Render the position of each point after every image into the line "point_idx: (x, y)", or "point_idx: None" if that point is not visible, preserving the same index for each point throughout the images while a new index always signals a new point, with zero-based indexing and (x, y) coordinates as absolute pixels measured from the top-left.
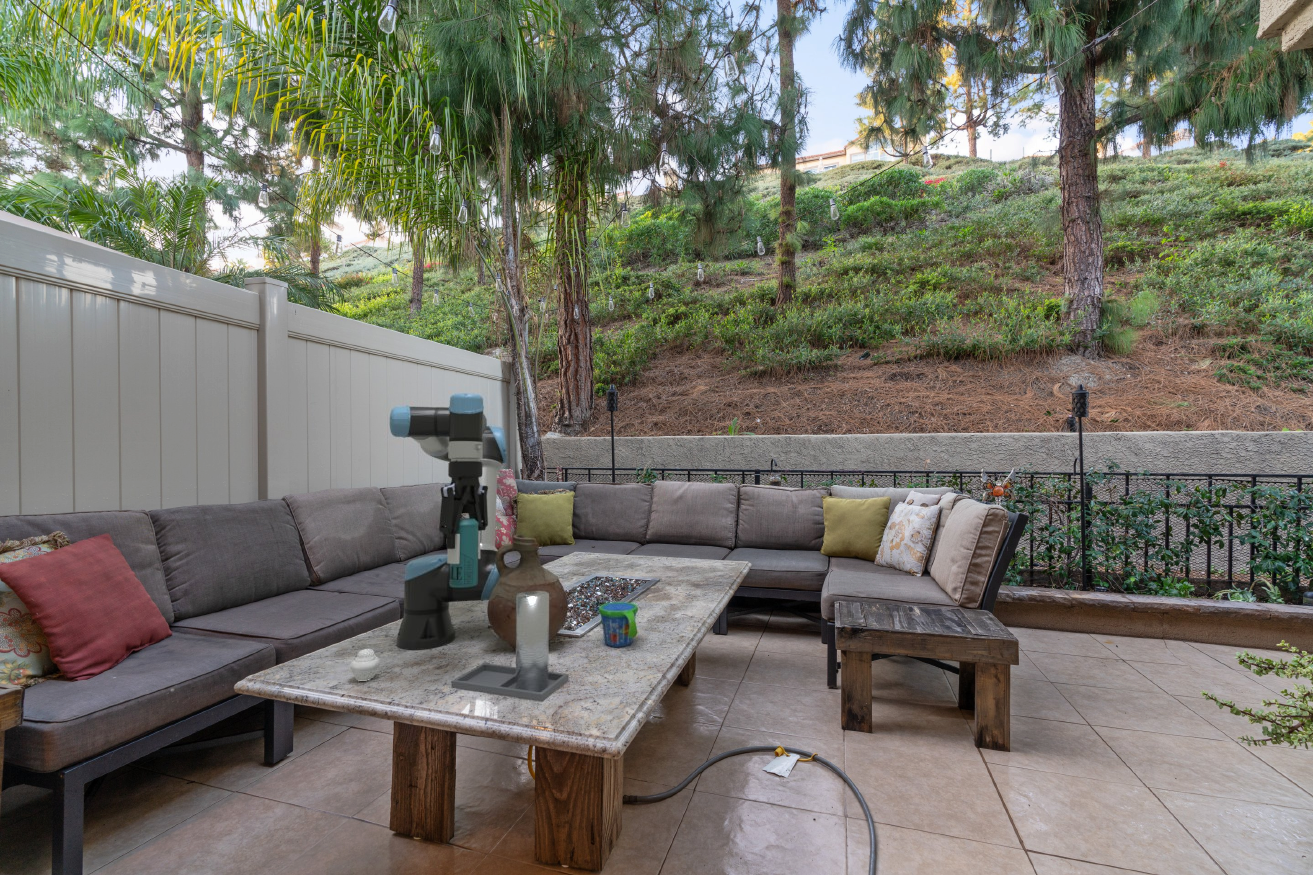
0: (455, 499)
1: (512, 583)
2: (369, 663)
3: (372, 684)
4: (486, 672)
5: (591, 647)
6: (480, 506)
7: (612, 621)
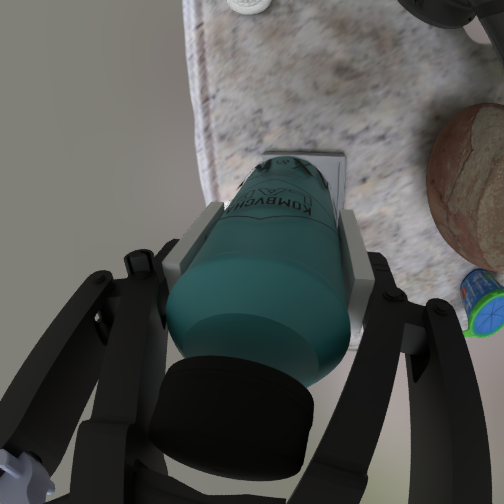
0: (120, 470)
1: (484, 202)
2: (240, 9)
3: (243, 26)
4: (332, 167)
5: (462, 258)
6: (424, 444)
7: (469, 308)
